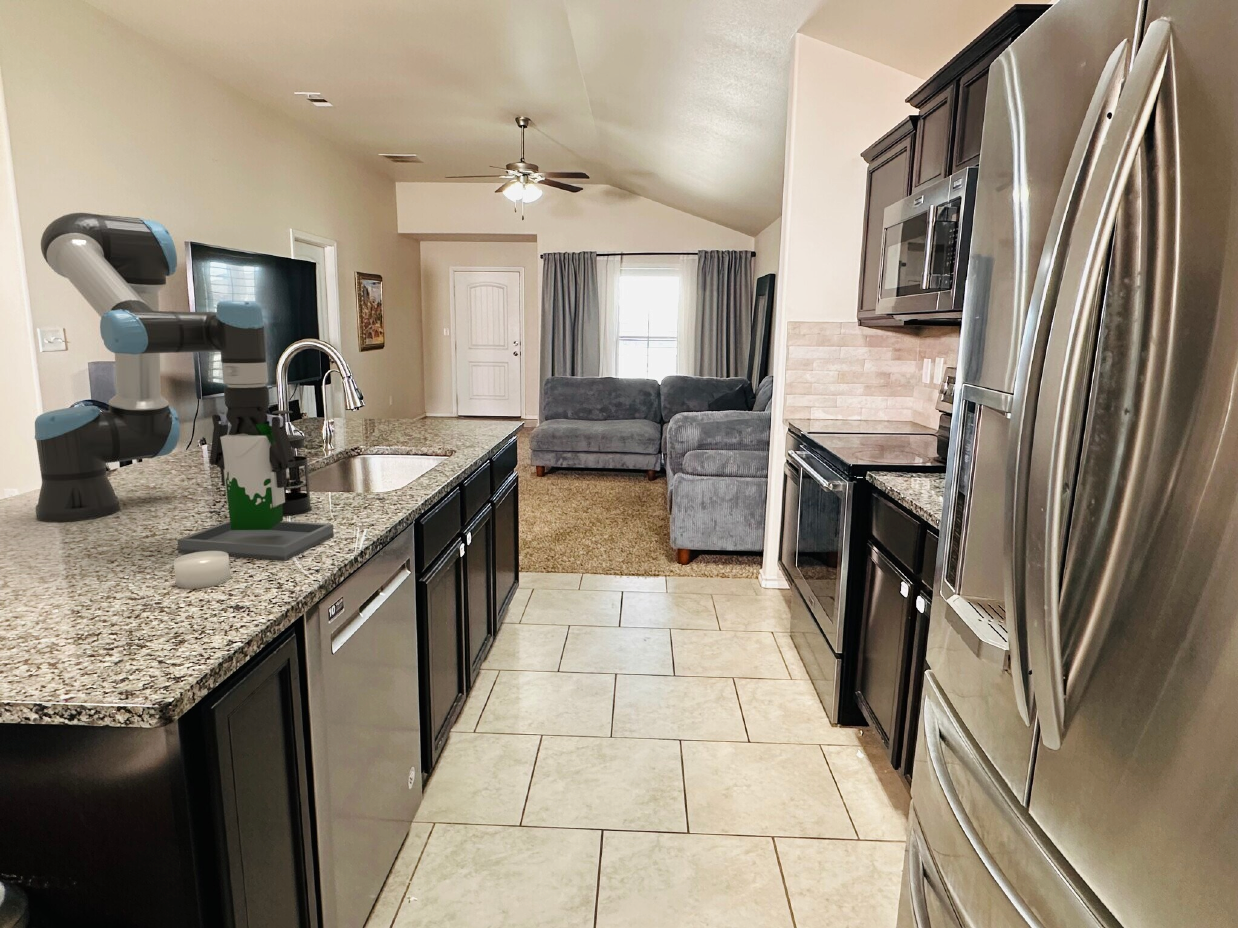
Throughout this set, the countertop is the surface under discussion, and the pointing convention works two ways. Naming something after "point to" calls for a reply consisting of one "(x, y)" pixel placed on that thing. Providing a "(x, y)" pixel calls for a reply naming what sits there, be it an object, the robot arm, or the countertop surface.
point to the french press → (296, 479)
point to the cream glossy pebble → (202, 569)
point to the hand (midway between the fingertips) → (255, 502)
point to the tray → (258, 540)
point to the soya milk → (250, 480)
